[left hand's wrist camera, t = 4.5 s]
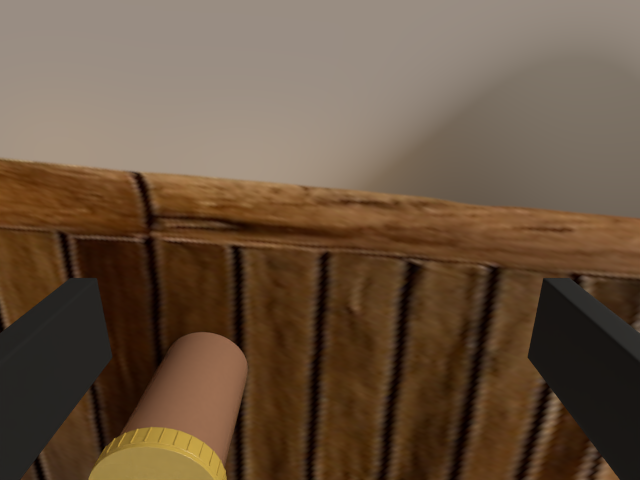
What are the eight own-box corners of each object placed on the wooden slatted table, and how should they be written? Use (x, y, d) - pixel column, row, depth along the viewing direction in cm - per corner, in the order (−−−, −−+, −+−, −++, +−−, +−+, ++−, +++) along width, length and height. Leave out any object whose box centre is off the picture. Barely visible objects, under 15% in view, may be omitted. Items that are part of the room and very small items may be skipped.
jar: (265, 368, 47) (241, 493, 33) (211, 414, 49) (166, 550, 35) (201, 316, 45) (145, 426, 30) (147, 367, 47) (72, 492, 33)
